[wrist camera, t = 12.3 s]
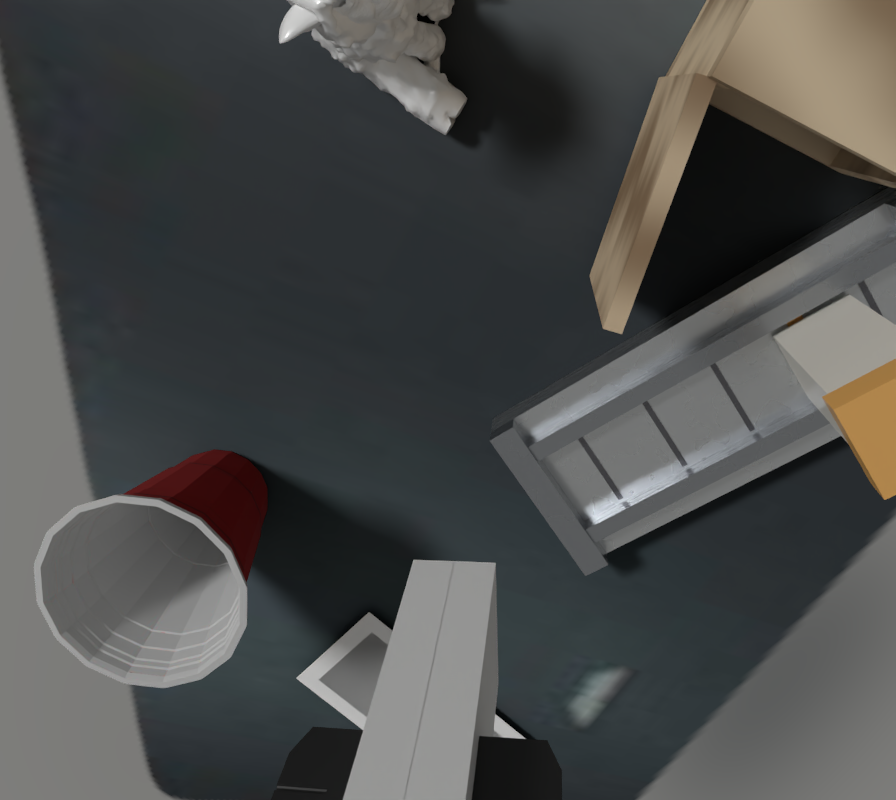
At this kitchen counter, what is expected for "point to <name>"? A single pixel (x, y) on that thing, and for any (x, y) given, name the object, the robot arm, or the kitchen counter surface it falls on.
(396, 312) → the kitchen counter surface
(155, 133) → the kitchen counter surface
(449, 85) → the sitting furry creature
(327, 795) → the robot arm
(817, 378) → the fader knob
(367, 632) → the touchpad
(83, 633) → the plastic cup
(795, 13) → the wooden cabinet
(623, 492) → the fader track
